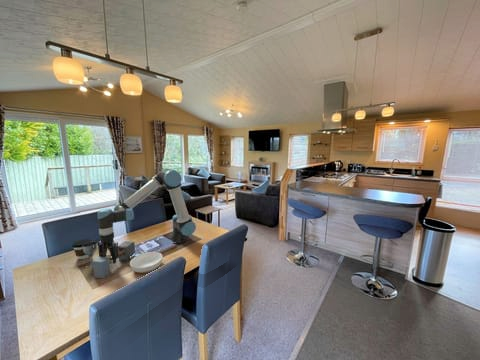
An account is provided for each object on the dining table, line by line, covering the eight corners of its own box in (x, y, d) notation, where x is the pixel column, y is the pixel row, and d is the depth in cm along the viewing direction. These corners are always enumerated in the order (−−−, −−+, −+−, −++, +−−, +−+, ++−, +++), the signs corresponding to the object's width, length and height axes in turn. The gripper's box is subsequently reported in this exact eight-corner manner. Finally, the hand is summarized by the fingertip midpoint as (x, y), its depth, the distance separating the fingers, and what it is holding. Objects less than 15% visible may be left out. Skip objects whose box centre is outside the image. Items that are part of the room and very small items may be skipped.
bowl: (132, 263, 134) (131, 255, 133) (162, 257, 141) (162, 249, 140) (128, 280, 116) (127, 270, 115) (163, 272, 124) (163, 263, 123)
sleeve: (127, 254, 145) (126, 241, 143) (135, 255, 144) (134, 241, 142) (118, 260, 137) (117, 246, 136) (127, 261, 136) (126, 247, 134)
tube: (122, 253, 138) (122, 247, 138) (127, 253, 138) (127, 248, 137) (98, 268, 120) (98, 262, 119) (104, 269, 119) (103, 263, 119)
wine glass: (102, 262, 134) (100, 242, 132) (90, 268, 127) (87, 247, 125) (94, 260, 137) (92, 240, 135) (81, 266, 129) (79, 245, 127)
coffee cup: (96, 255, 143) (94, 240, 141) (79, 263, 133) (77, 247, 131) (87, 252, 147) (86, 237, 146) (70, 259, 138) (68, 243, 136)
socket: (101, 272, 124) (99, 256, 122) (110, 273, 122) (109, 257, 121) (94, 277, 119) (92, 260, 117) (103, 278, 117) (102, 262, 116)
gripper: (123, 231, 124) (126, 265, 128) (99, 229, 128) (103, 262, 131) (114, 236, 117) (117, 272, 120) (89, 234, 120) (92, 268, 124)
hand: (110, 267), depth 126 cm, fingers open, 5 cm apart
